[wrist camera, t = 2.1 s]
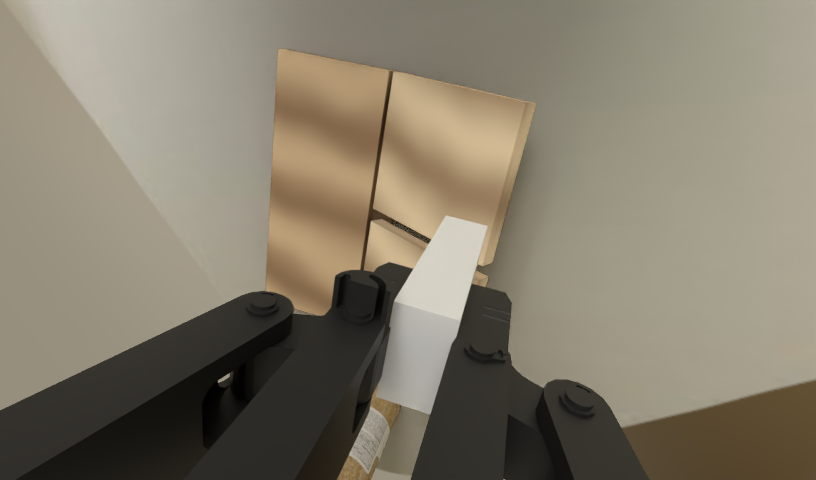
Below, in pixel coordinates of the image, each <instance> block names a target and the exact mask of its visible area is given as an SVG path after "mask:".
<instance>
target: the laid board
mask: <svg viewBox="0 0 816 480" xmlns="http://www.w3.org/2000/svg"><path fill="white" fill-rule="evenodd" d="M393 72H399V71H394V70H389V69H384V68H379V67H374V66H369V65H363V64H358V63H353V62H348V61H343V60H338V59H333V58H328V57H323V56H318V55H313V54H308V53H303V52H298V51H293V50H285V49H278V61H277V80H276V99H275V118H274V137H273V156H272V175H271V194H270V213H269V232H268V251H267V270H266V289H265V291H268V292H275V293H278V294H281V295H284V296H285V297H287V298H288V299H290V300H291V302H292V304H293V306H294V308H295V309H298V310H301V311H304V312H308V313H311V314H314V315H317V316H322V315H325V314H326V313H327V312H328V310H329V309H330V308H331V305H332V296H333V288H334V280H335V276H336V275H337V274H339V273H341V272H344V271H348V270H364V264H365V258H366V251H367V244H368V238H369V231H370V224H371V221H373V220H379V219H383V220H385V221H387V222H389V223H390V224H392V218H390V217H388V216H386V215H385V214H383V213H381V212H379V211H377V210H375V209H373V204H374V198H375V191H376V184H377V178H378V171H379V164H380V158H381V151H382V144H383V138H384V131H385V124H386V118H387V111H388V104H389V98H390V91H391V85H392V78H393ZM400 73H404V72H400ZM407 74H409V73H407ZM411 75H414V74H411ZM415 76H417V75H415Z"/></svg>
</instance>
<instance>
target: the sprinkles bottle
mask: <svg viewBox="0 0 816 480" xmlns="http://www.w3.org/2000/svg"><path fill="white" fill-rule="evenodd" d="M377 389H378V385H377V387H376V389H375V391H374V393H373V395H372V400H371V405H370V411H369V414H368V416H367V418H366V420H365V422H364V424H363V426H362V428H361V430H360V433H359V435H358V437H357V439H356V441H355V443H354V445H353V447H352V449H351V451H350V454H349V456H348V458H347V460H346V462H345V464H344V466H343V468H342V470H341V472H340V475H339V477H338V479H337V480H371V478H372V475H373V473H374V471H375V468H376V466H377V465H378V463H379V460H380V458H381V455H382V453H383V450H384V448H385V445H386V443H387V440H388V437H389V433H390V430H391V428H392V425H393V423H394V420H395V418H396V417H397V415H398V413H399V411H400V405H399V404H396V403H393V402H390V401H387V400H384V399H381V398H378V397H376V394H377Z"/></svg>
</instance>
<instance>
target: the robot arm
mask: <svg viewBox="0 0 816 480" xmlns="http://www.w3.org/2000/svg"><path fill="white" fill-rule="evenodd" d="M487 227H488V226H486V225H482V224H478V223H474V222H470V221H466V220H462V219H458V218H454V217H450V216H445V218H444V220H443V221H442V223H441V225H440V226H439V228H438V229H437V231H436V233H435V234H434V236H433V238H432V239H431V241H430V243H429V244H428V246H427V248H426V249H425V251H424V252H423V254H422V256H421V257H420V259H419V261H418V262H417V264H416V266H415V267H414V269H413V268H409V267H406V266H402V265H398V264H395V263H391V262H388V263H386V264H383V265H381V266H379V267H377V268H376V269H375V271H374V272H371V271H365V270H348V271H344V272H341V273H339V274H337V275H336V276H335V280H334V288H333V296H332V305H331V308H330V309H329V310H328V312H327V313H326V314H325V315H322V316H314V315H301V314H293V311H294V306H293V304H292V302H291V300H290V299H288V298H287V297H285V296H284V295H281V294H278V293H275V292H268V291H260V292H251V293H248V294H245V295H242V296H240V297H238V298H235V299H233V300H231V301H229V302H227V303H225V304H223V305H221V306H219V307H217V308H214V309H212V310H210V311H208V312H206V313H204V314H202V315H200V316H198V317H196V318H193V319H191V320H189V321H187V322H185V323H183V324H181V325H179V326H177V327H175V328H172V329H170V330H168V331H166V332H164V333H162V334H160V335H158V336H156V337H154V338H152V339H149V340H147V341H145V342H143V343H141V344H139V345H137V346H135V347H133V348H130V349H128V350H126V351H124V352H122V353H120V354H118V355H116V356H114V357H112V358H110V359H107V360H106V361H103V362H101V363H99V364H97V365H95V366H93V367H91V368H88V369H86V370H84V371H82V372H81V373H78V374H76V375H74V376H72V377H70V378H68V379H65V380H63V381H61V382H59V383H57V384H55V385H53V386H51V387H49V388H46V389H44V390H42V391H40V392H38V393H36V394H34V395H32V396H30V397H28V398H25V399H23V400H21V401H19V402H17V403H15V404H13V405H11V406H9V407H7V408H5V409H2V410H0V480H337V479H338V477H339V475H340V472H341V470H342V468H343V466H344V464H345V462H346V460H347V458H348V456H349V454H350V451H351V449H352V447H353V445H354V443H355V441H356V439H357V437H358V435H359V433H360V430H361V428H362V426H363V424H364V422H365V420H366V418H367V416H368V414H369V411H370V405H371V400H372V395H373V393H374V391H375V389H376V387H377V385H378V389H377V394H376V397H378V398H381V399H384V400H387V401H390V402H393V403H396V404H399V405H402V406H405V407H408V408H411V409H414V410H417V411H420V412H423V413H426V414H429V415H430V417H429V421H428V424H427V427H426V431H425V434H424V437H423V441H422V444H421V447H420V451H419V454H418V457H417V461H416V464H415V467H414V470H413V474H412V477H411V480H503V478H504V479H505V480H649V479H648V477H647V475H646V473H645V471H644V469H643V467H642V465H641V464H640V462H639V460H638V458H637V456H636V455H635V453H634V451H633V449H632V447H631V445H630V443H629V442H628V440H627V438H626V436H625V434H624V432H623V430H622V429H621V427H620V425H619V423H618V421H617V419H616V418H615V416H614V414H613V412H612V410H611V408H610V407H609V406H608V404H607V403H606V402H605V400H604V399H603V398H602V397H601V396H599V395H598V394H597V393H596V392H594V391H593V390H592V389H590V388H588V387H586V386H584V385H582V384H580V383H577V382H573V381H570V380H553V381H551V382H548V383H547V384H546V386H545V387H544V388H542V387H540V386H538V385H536V384H535V383H533V382H531V381H529V380H528V379H526V378H525V377H523V376H522V375H521V374H520V373H518V372H517V371H516V370H515V368H514V367H513V366H512V365H511V363H512V361H511V357H510V354H509V352H508V342H509V330H510V318H511V315H510V314H511V306H512V303H511V301H510V300H509V298H508V296H507V295H506V293H504V292H501V291H497V290H493V289H490V288H486V287H483V286H479V285H475V284H473V280H474V276H475V272H476V268H477V265H478V261H479V257H480V253H481V249H482V246H483V242H484V238H485V234H486V230H487ZM228 373H230V377H229V378H227V379H226V380H224V381H222V382H220V383H218V380H219V379H221V378H222V377H224V376H225V375H227V374H228Z"/></svg>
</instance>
